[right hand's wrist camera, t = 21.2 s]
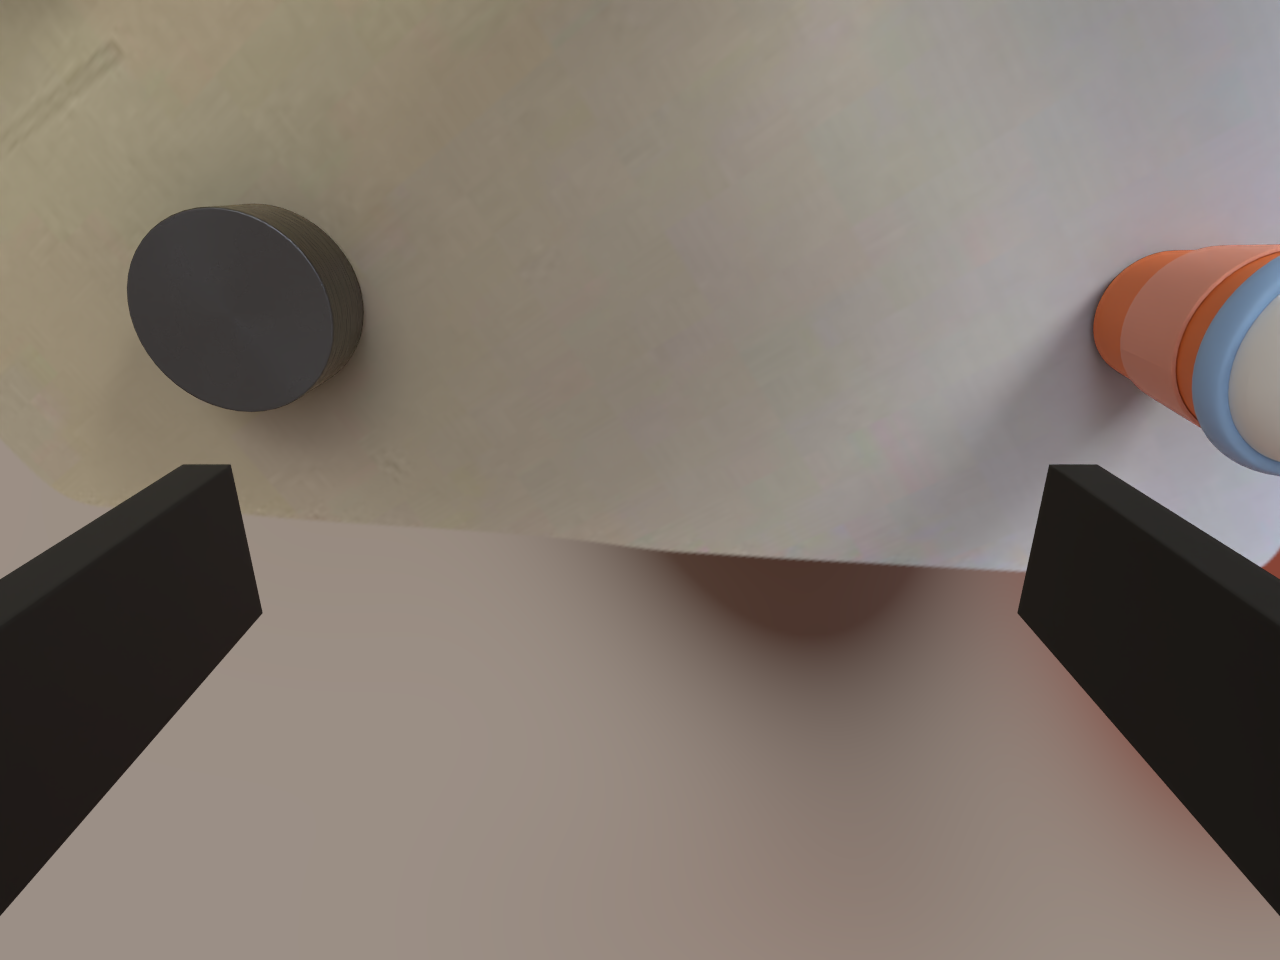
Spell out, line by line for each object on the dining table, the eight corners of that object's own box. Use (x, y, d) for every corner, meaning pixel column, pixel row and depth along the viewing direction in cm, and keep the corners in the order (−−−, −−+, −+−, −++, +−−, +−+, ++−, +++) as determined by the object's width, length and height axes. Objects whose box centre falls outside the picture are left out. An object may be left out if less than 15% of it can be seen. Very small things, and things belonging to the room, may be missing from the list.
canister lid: (158, 203, 36) (102, 206, 32) (349, 203, 36) (316, 206, 32) (199, 389, 39) (153, 412, 35) (374, 389, 39) (346, 412, 35)
